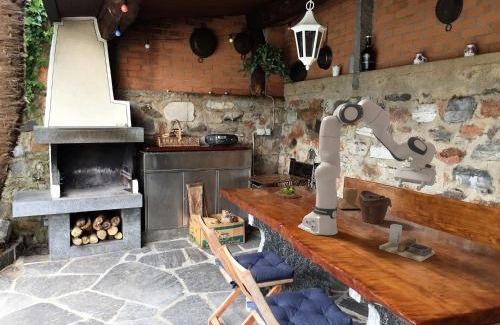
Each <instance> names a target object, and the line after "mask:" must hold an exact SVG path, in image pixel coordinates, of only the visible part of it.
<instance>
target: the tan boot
mask: <svg viewBox="0 0 500 325" xmlns="http://www.w3.org/2000/svg"><path fill="white" fill-rule="evenodd" d="M358 193H359V192H358V189H357V188H354V187H343V188H342V198H343V202H342V203H339V204H338V205H337V207H338V208H339V209H340V210H354V209H357V210H358V209H361V208H360V205H357V204H356V202H357V200H358V195H359V194H358Z"/></svg>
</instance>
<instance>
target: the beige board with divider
mask: <svg viewBox="0 0 500 325" xmlns="http://www.w3.org/2000/svg"><path fill="white" fill-rule="evenodd" d="M378 247H379V248H378V249H379V250H381V251H384V252H388V253H391V254H395V255H398V256H400V257H404V258H407V259H411V260H412V261H413V260H414V261H417V262H421V263H422V262H423V261H425V260H427V259H428V258H430V257H432V256H433V255H435V250H433V247H432V246H427V245H424V244H420V243H418V242H417V237H414V236H410V237H409V238H407V239H404V240H401V242H400V243H398V247H395V246H392V245H389V241H387V242H385V243H383V244H380V245H379V246H378Z"/></svg>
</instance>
